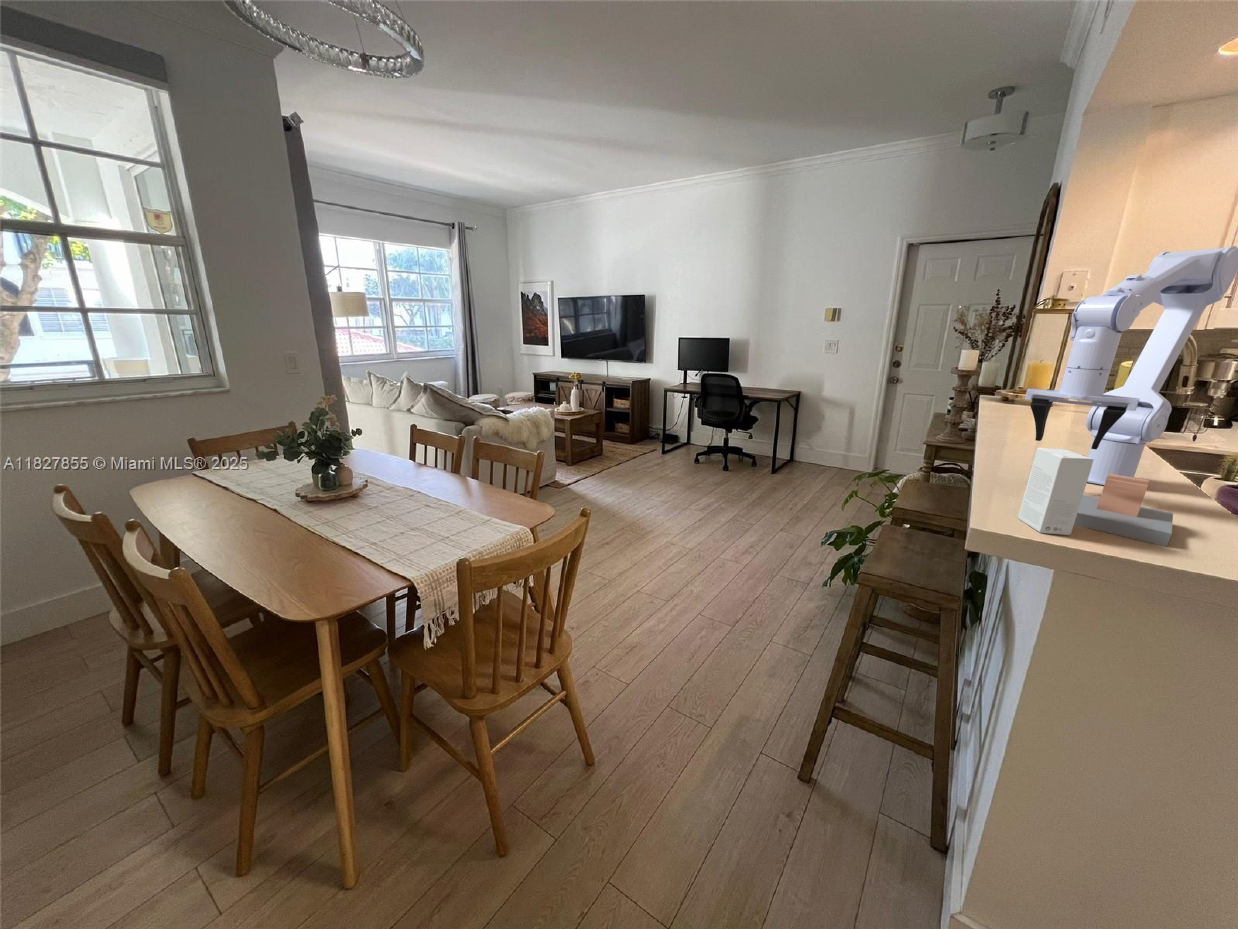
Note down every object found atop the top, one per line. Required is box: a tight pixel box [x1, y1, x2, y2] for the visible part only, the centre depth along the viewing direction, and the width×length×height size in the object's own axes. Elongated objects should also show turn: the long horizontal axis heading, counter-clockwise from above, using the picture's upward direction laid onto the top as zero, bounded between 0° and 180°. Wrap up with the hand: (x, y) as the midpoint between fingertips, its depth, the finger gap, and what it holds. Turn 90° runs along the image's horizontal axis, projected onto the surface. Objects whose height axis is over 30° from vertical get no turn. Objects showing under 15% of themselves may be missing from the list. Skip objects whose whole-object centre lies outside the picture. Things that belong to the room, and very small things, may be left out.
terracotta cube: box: [1097, 474, 1150, 517], centre depth 76 cm, size 4×4×5 cm
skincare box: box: [1017, 447, 1094, 536], centre depth 73 cm, size 6×4×12 cm
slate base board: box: [1074, 494, 1174, 547], centre depth 76 cm, size 12×12×2 cm
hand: (1065, 444), depth 87 cm, fingers open, 7 cm apart
